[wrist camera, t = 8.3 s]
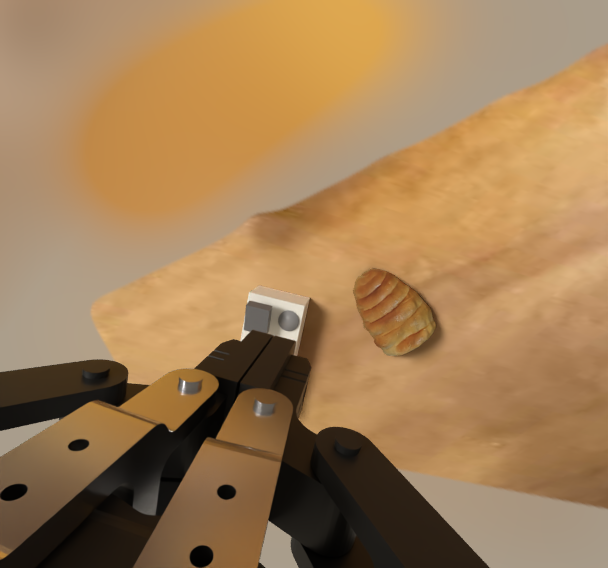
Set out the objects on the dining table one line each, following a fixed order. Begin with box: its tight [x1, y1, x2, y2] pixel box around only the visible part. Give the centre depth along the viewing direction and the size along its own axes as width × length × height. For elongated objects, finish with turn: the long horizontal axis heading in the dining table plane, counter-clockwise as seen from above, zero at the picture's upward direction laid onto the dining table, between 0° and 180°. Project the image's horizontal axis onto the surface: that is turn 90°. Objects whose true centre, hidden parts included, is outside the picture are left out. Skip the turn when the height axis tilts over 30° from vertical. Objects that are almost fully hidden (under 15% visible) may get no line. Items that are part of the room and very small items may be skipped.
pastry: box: [353, 268, 436, 356], centre depth 39 cm, size 9×7×4 cm
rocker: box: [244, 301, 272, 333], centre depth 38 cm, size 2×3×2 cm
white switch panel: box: [241, 285, 310, 356], centre depth 42 cm, size 6×14×4 cm, turn 168°
